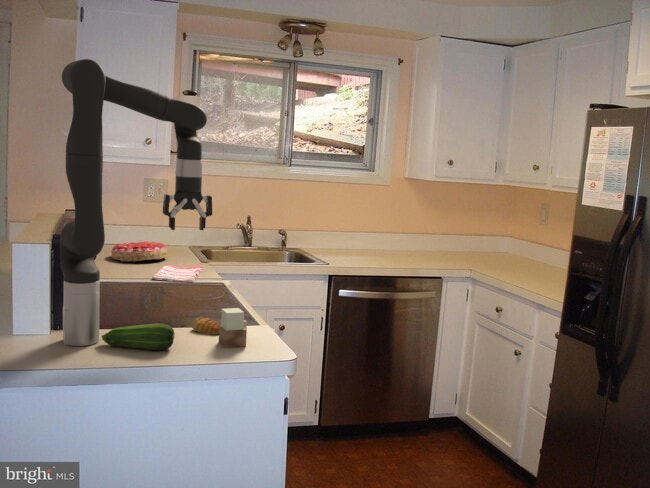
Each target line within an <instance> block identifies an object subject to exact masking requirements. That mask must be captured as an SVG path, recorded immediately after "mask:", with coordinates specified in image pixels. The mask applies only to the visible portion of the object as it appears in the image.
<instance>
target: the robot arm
mask: <svg viewBox="0 0 650 488" xmlns="http://www.w3.org/2000/svg"><path fill="white" fill-rule="evenodd" d="M61 81H62V84H63V86H64V87H65V89H66V90H67V91H68V92H70V93H71V94H72V110H73V112H72V119H71V123H70V127H69V131H68V135H67V140H66V143H65V174H66V178H67V182H68V185H69V188H70V192H71V196H72V199H73V203H74V220H71V221H70V222H68V223H66V224H65V225H64V226H63V228H62V229H61V232H60V238H59V255H60V256H59V257H60V269H61V271H62V273H63V274H62V275H63V305H62V342H63V345H64V346H73V347H80V346H81V347H82V346H84V347H85V346H90V345H95V344H97V343H98V342H99V341H100V297H101V296H100V290H101V289H100V288H101V287H100V285H101V284H100V282H101V281H100V278H101V277H100V276H101V273H100V269H99V267H97V265H96V262H95V259H94V257H96V256H98V255H99V254H100V253H101V252H102V251H103V247H104V245H105V241H106V240H105V239H106V236H105V234H106V233H105V224H104V214H103V172H104V171H103V170H104V169H103V168H104V151H103V149H104V148H103V147H104V146H103V142H104V141H103V140H104V139H103V137H104V134H103V110H104V109H103V108H104V101H105V102H109V103H111V104H115V105H118V106H121V107H123V108H127V109H129V110H132V111H134V112H137V113H140V114H142V115H145V116H147V117H150V118H153V119H156V120H158V121H162V122H170V123H173V125H174V126H173V127H174V131H175V132H174V133H175V137H176V144H177V145H176V146H177V150H176V163H175V172H174V173H175V183H174V184H175V186H174V187H175V190H174V194H167V193H165V194H163V202H162V214H163V215H165V216H167V217H168V227H169V229H170V230H172V231H175V230H176V215H177V214H178V213H179V212H180V211H181V210H184V211H187V210H191V211H195V210H196V212H197V213H198V214H199V216H200V217H199V225H198V226H199V228H198V229H199V231H204V229H206V226H207V225H206V223H207V221H206V220H207V219H206V218H207V217H212V215H213V196H212V195H209V194H207V195H202V183H203V164H202V160H203V159H202V152H203V151H202V150H203V147H202V142H201V141H200V140H199V139H198V134H197V132H198V131H199V130H201V129H203V128H204V127H205V126H206V124H207V121H208V120H207V119H208V118H207V114H206V112H205V110H204V109H203V108H202V107H200V106H198V105H196V104H192V103H190V102H186V101H182V100H178V99H175V98H172V97H170V96H168V95H166V94H162V93H160V92H157V91H154V90H152V89H149V88H145V87H142V86H139V85H134V84H130V83H126V82H124V81H120V80H117V79H114V78H112V77H110V76H107V75H106V73H105V71H104V69H103V67H102V65H100V63H98V62H97V61H95V60H93V59H89V58H84V59H77V60H75V61H71V62H70V63H68V64H67V65H66V66H64V68H63V70H62V72H61ZM173 200H174V201H175V203H176V204H174V206H173V207H172V209H171V211H170V203H171V202H172V201H173ZM202 201H203V202H204V203H205V211H204V210H203V207H202V206H201V205H200V204H201V202H202Z"/></svg>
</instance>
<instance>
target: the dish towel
mask: <svg viewBox="0 0 650 488" xmlns="http://www.w3.org/2000/svg"><path fill="white" fill-rule="evenodd" d="M202 270H203V265H196V266H188V267H186V266H175V265H172V264H165V265H164V266H163V267H161V269H160V270H158V271H157V272H156V273H155V274H153V275H152V278H151V280H153V279H162V280H173V281H172V282H175V281H183V282H182V283H194V282H195V281H196V280H195V278H196V277H197V276H198V275H199V274H200V273H201V272H202ZM202 273H203V272H202ZM202 273H201V274H202ZM201 274H200V275H201ZM200 275H199V276H200ZM199 276H198V277H199ZM198 277H197V278H198ZM197 278H196V279H197ZM194 280H195V281H194ZM193 281H194V282H193Z"/></svg>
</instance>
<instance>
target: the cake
mask: <svg viewBox="0 0 650 488" xmlns="http://www.w3.org/2000/svg"><path fill="white" fill-rule="evenodd" d="M110 250H111V253H110V254H111V259H112V260H116V261H117V260H119V261H120V262H121V263H139V262H141V261H151V260H152V261H158V260H163V259H165V258H168V249H167V246H166V244H164V243H162V242H155V241H150V242H149V241H148V240H147V241H138V242H128V243H126V242H124V243H117V244H115V245H114V246H113V247H112V248H111V249H110Z"/></svg>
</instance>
